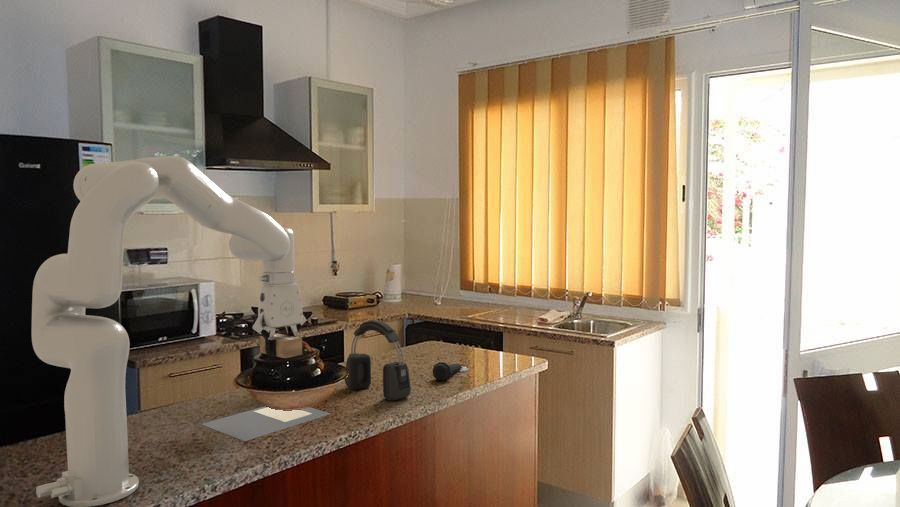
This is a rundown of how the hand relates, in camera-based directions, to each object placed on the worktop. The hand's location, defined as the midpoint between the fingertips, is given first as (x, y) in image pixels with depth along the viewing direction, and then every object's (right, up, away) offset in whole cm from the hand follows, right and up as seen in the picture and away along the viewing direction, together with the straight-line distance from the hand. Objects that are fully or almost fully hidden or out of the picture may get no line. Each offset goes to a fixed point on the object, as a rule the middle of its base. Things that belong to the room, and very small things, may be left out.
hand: (281, 352), depth 158 cm
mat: (-2, -16, -3) cm, 16 cm away
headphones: (+21, -14, +20) cm, 33 cm away
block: (0, 0, 0) cm, 0 cm away
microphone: (+42, -13, +39) cm, 59 cm away
